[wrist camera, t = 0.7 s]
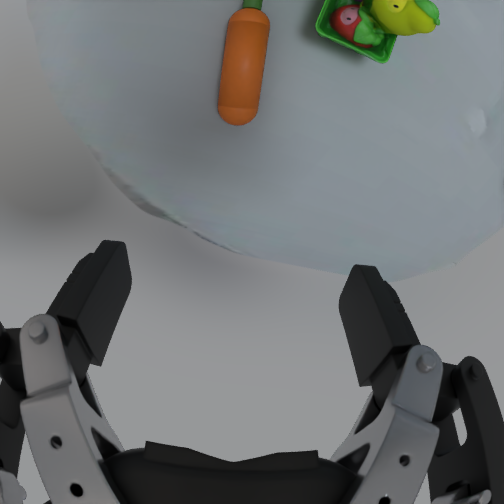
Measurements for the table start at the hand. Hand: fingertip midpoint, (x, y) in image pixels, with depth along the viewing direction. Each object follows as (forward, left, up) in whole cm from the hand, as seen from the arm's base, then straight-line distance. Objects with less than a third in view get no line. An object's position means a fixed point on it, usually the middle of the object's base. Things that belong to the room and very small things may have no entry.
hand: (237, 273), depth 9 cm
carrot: (-8, -1, -23) cm, 25 cm away
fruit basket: (-17, +10, -23) cm, 31 cm away
